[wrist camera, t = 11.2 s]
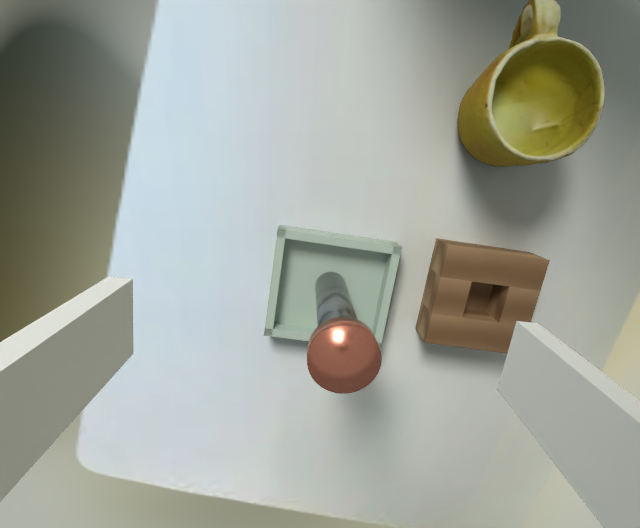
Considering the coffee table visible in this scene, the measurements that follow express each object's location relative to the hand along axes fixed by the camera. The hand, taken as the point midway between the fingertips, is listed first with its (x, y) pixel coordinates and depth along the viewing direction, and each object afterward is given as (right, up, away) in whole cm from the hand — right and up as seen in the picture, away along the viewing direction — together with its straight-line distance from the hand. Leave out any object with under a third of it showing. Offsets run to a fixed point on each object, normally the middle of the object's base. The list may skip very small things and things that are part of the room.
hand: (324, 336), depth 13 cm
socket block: (+16, 0, +28) cm, 32 cm away
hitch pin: (+1, 0, +27) cm, 27 cm away
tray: (+1, 0, +27) cm, 27 cm away
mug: (+17, +18, +24) cm, 34 cm away
